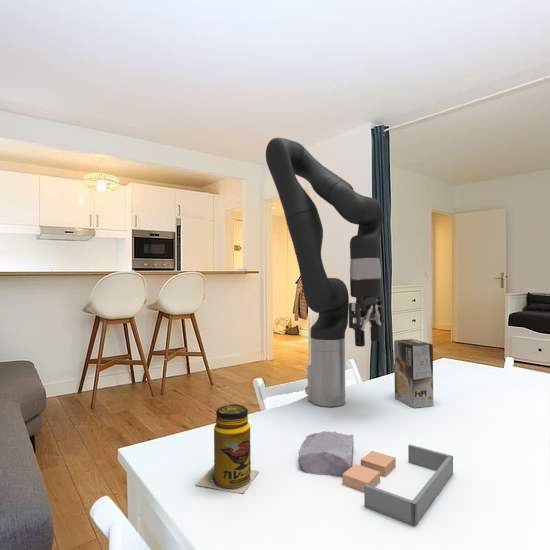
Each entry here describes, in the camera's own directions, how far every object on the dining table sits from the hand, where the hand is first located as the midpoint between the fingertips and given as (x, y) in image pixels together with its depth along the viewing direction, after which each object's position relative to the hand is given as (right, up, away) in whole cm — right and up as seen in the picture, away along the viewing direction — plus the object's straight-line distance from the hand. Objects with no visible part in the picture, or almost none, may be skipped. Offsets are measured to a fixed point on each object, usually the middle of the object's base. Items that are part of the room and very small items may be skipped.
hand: (367, 343), depth 97 cm
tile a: (-9, -18, -32) cm, 38 cm away
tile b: (-4, -18, -27) cm, 33 cm away
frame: (-1, -17, -34) cm, 38 cm away
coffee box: (+14, -17, +9) cm, 24 cm away
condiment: (-31, -18, -30) cm, 47 cm away
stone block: (-13, -18, -24) cm, 33 cm away
